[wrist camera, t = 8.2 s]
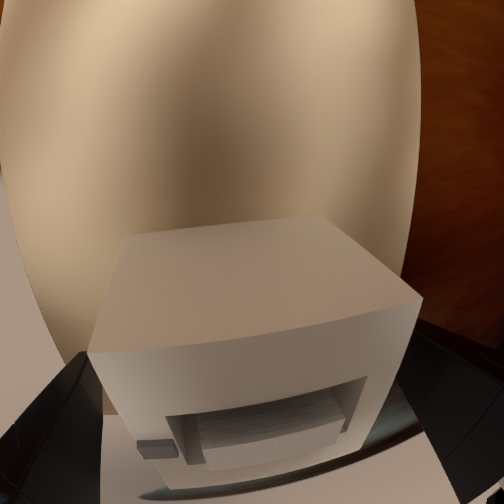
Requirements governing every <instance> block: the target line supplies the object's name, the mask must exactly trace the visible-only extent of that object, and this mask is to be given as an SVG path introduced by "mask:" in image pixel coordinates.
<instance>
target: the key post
mask: <svg viewBox="0 0 504 504" xmlns="http://www.w3.org/2000/svg"><path fill="white" fill-rule="evenodd" d="M345 419H346V418H345V416H344V415H343V413H342V411H341V409H340V407H339V405H338V403H337V402H336V400H335V398H334V396H333V394H332V392H331V391H330V389H329V387H328V388H324V389H321V390H317V391H313V392H309V393H305V394H301V395H297V396H293V397H288V398H284V399H279V400H275V401H270V402H265V403H260V404H254V405H249V406H243V407H237V408H231V409H224V410H218V411H210V412H202V413H197V420H198V427H199V434H200V441H201V448H202V452H203V455H204V457H205V460H206V463H207V466H208V468H209V471H218V470H225V469H232V468H238V467H244V466H250V465H255V464H260V463H265V462H270V461H274V460H279V459H283V458H287V457H291V456H295V455H299V454H303V453H307V452H310V451H314V450H317V449H320V448H324V447H327V446H330V445H333V444H335V443H336V441H337V439H338V436H339V434H340V431H341V429H342V426H343V424H344V421H345Z"/></svg>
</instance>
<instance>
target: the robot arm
mask: <svg viewBox="0 0 504 504" xmlns="http://www.w3.org/2000/svg"><path fill="white" fill-rule="evenodd" d="M395 379H396V381H397V383H398V384H399V386H400V388H401V390H402V391H403V393H404V395H405V397H406V398H407V400H408V402H409V404H410V406H411V407H412V409H413V411H414V413H415V415H416V417H417V418H418V420H419V422H420V424H421V426H422V428H423V430H424V431H425V433H426V435H427V437H428V439H429V441H430V443H431V445H432V447H433V449H434V450H435V452H436V454H437V456H438V458H439V460H440V462H441V465H442V466H443V468H444V471H445V473H446V475H447V477H448V479H449V481H450V482H451V485H452V487H453V489H454V491H455V493H456V496H457V498H458V500H459V502H460V504H468V503H469V502H471V501H472V500H474V499H475V498H477V497H478V496H479V495H481V494H482V493H483V492H485V491H486V490H488V489H489V488H490V487H491V486H493V485H494V484H496V483H497V482H498V483H499V484H500V487H499V488H498V489H497V490H496V491H495V492H494V493H493V494H492V495H491V496H489V497H488V498H487V502H486V504H504V353H503V352H500V351H497V350H494V349H492V348H489V347H487V346H484V345H482V344H479V343H477V342H476V343H475V342H474V341H472V340H470V339H467V338H465V337H462V336H460V335H458V334H455V333H453V332H450V331H448V330H446V329H443V328H441V327H438V326H436V325H434V324H431V323H429V322H426V321H424V320H422V319H419V318H417V320H416V323H415V326H414V329H413V332H412V335H411V338H410V340H409V343H408V346H407V349H406V351H405V354H404V356H403V359H402V362H401V364H400V367H399V369H398V371H397V374H396V376H395ZM102 428H103V385H102V383H101V382H100V380H99V378H98V376H97V374H96V372H95V370H94V368H93V365H92V363H91V361H90V359H89V357H88V355H87V351H80V352H78V353H77V354H76V355H75V356H74V357H73V359H72V360H71V361H70V362H69V363H68V364H67V365H66V366H65V367H64V368H63V369H62V370H61V371H60V372H59V374H57V375H56V377H55V378H54V379H53V380H52V381H51V382H50V383H49V384H48V385H47V386H46V387H45V388H44V390H43V391H42V392H41V393H40V394H39V395H38V396H37V397H36V398H35V400H34V401H33V402H32V403H31V404H30V405H29V406H28V407H27V408H26V410H25V411H24V412H23V413H22V414H21V415H20V416H19V418H18V419H17V420H16V421H15V422H14V424H12V426H11V427H10V428H9V429H8V430H7V431H6V433H5V434H4V435H3V436H2V437H1V438H0V504H100V464H101V443H102Z"/></svg>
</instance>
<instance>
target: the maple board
mask: <svg viewBox="0 0 504 504" xmlns="http://www.w3.org/2000/svg"><path fill="white" fill-rule="evenodd" d="M420 121H421V73H420V52H419V39H418V28H417V19H416V11H415V4H414V0H5V3H4V8H3V14H2V20H1V26H0V162H1V170H2V176H3V182H4V188H5V194H6V198H7V204H8V208H9V213H10V217H11V222H12V225H13V230H14V233H15V237H16V241H17V244H18V248H19V251H20V255H21V258H22V261H23V264H24V267H25V270H26V273H27V276H28V279H29V282H30V285H31V288H32V290H33V293H34V295H35V298H36V301H37V304H38V306H39V308H40V311H41V313H42V316H43V318H44V320H45V323H46V325H47V327H48V330H49V332H50V334H51V336H52V338H53V340H54V343H55V345H56V347H57V349H58V351H59V352H60V355H61V357H62V359H63V361H64V363H65V364H66V365H67V364H68V363H69V362H70V361H71V360H72V359H73V357H74V356H75V355H76V354H77V353H78V352H80V351H87V350H88V347H89V343H90V340H91V337H92V333H93V330H94V327H95V324H96V320H97V317H98V314H99V311H100V308H101V305H102V302H103V299H104V296H105V293H106V291H107V288H108V285H109V282H110V279H111V277H112V274H113V271H114V269H115V266H116V263H117V261H118V258H119V256H120V253H121V251H122V248H123V246H124V243H125V241H126V238H127V236H128V235H133V234H141V233H149V232H157V231H165V230H174V229H183V228H192V227H201V226H210V225H219V224H229V223H239V222H249V221H259V220H270V219H281V218H292V217H304V216H316V215H322V216H323V217H324V218H326V219H327V220H328V221H330V222H331V223H332V224H334V225H335V226H336V227H338V228H339V229H340V230H341V231H343V232H344V233H345V234H347V235H348V236H349V237H350V238H352V239H353V240H354V241H355V242H357V243H358V244H359V245H361V246H362V247H363V248H364V249H366V250H367V251H368V252H369V253H371V254H372V255H373V256H374V257H375V258H377V259H378V260H379V261H380V262H382V263H383V264H384V265H385V266H386V267H388V268H389V269H390V270H391V271H392V272H394V273H395V274H396V275H397V276H398V277H400V275H401V270H402V266H403V261H404V256H405V251H406V246H407V240H408V235H409V229H410V223H411V217H412V210H413V203H414V195H415V187H416V178H417V168H418V156H419V142H420ZM106 414H107V415H110V414H111V415H113V414H114V415H117V414H118V413H117V411H116V409H115V407H114V406H113V404H112V402H111V400H110V398H109V397H108V395H107V393H106V391H105V389H104V387H103V415H106Z"/></svg>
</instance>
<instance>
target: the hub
mask: <svg viewBox="0 0 504 504" xmlns="http://www.w3.org/2000/svg"><path fill="white" fill-rule="evenodd" d="M422 301H423V297H422V296H420V295H419V294H418V293H417V292H416V291H415V290H414V289H412V288H411V287H410V286H409V285H408V284H407V283H405V282H404V281H403V280H402V279H401V278H400V277H398V276H397V275H396V274H395V273H394V272H392V271H391V270H390V269H389V268H388V267H386V266H385V265H384V264H383V263H382V262H380V261H379V260H378V259H377V258H375V257H374V256H373V255H372V254H371V253H369V252H368V251H367V250H366V249H364V248H363V247H362V246H361V245H359V244H358V243H357V242H355V241H354V240H353V239H352V238H350V237H349V236H348V235H347V234H345V233H344V232H343V231H341V230H340V229H339V228H338V227H336V226H335V225H334V224H332V223H331V222H330V221H328V220H327V219H326V218H324V217H323V216H322V215H316V216H304V217H292V218H281V219H270V220H259V221H249V222H239V223H229V224H219V225H210V226H201V227H192V228H183V229H174V230H165V231H157V232H149V233H141V234H133V235H128V236H127V238H126V241H125V243H124V246H123V248H122V251H121V253H120V256H119V258H118V261H117V263H116V266H115V269H114V271H113V274H112V277H111V279H110V282H109V285H108V288H107V291H106V293H105V296H104V299H103V302H102V305H101V308H100V311H99V314H98V317H97V320H96V324H95V327H94V330H93V333H92V337H91V340H90V343H89V347H88V350H87V355H88V357H89V359H90V361H91V363H92V365H93V368H94V370H95V372H96V374H97V376H98V378H99V380H100V382H101V383H102V385H103V387H104V389H105V391H106V393H107V395H108V397H109V398H110V400H111V402H112V404H113V406H114V407H115V409H116V411H117V413H118V414H119V416H120V418H121V419H122V421H123V423H124V424H125V426H126V427H127V429H128V431H129V432H130V434H131V436H132V437H133V438H134V440H135V441H136V443H137V449H138V450H139V452H140V453H141V455H142V456H143V458H144V459H148V461H149V462H150V464H151V465H152V466H153V468H154V469H155V470H156V472H157V473H158V475H159V476H160V477H161V479H162V480H163V481H164V482H165V484H166V485H167V486H168V488H169V489H185V488H197V487H207V486H216V485H223V484H230V483H237V482H243V481H248V480H254V479H259V478H264V477H269V476H273V475H278V474H282V473H286V472H290V471H294V470H298V469H301V468H305V467H309V466H312V465H315V464H319V463H322V462H325V461H328V460H331V459H334V458H337V457H340V456H343V455H346V454H349V453H352V452H354V451H357V450H360V448H361V446H362V444H363V442H364V441H365V439H366V437H367V435H368V433H369V431H370V429H371V428H372V426H373V424H374V422H375V420H376V418H377V416H378V414H379V412H380V409H381V407H382V405H383V403H384V401H385V399H386V397H387V395H388V392H389V390H390V388H391V386H392V383H393V381H394V379H395V376H396V374H397V371H398V369H399V367H400V364H401V362H402V359H403V356H404V354H405V351H406V349H407V346H408V343H409V340H410V338H411V335H412V332H413V329H414V326H415V323H416V320H417V317H418V314H419V311H420V307H421V304H422ZM328 387H329V389H330V391H331V392H332V394H333V396H334V398H335V400H336V402H337V403H338V405H339V407H340V409H341V411H342V413H343V415H344V416H345V418H346V419H345V421H344V424H343V426H342V429H341V431H340V434H339V436H338V439H337V441H336V443H335V444H333V445H330V446H327V447H324V448H320V449H317V450H314V451H310V452H307V453H303V454H299V455H295V456H291V457H287V458H283V459H279V460H274V461H270V462H265V463H260V464H255V465H250V466H244V467H238V468H232V469H225V470H218V471H209V468H208V466H207V463H206V460H205V457H204V455H203V452H202V448H201V441H200V434H199V427H198V420H197V413H202V412H210V411H218V410H224V409H231V408H237V407H243V406H249V405H254V404H260V403H265V402H270V401H275V400H279V399H284V398H288V397H293V396H297V395H301V394H305V393H309V392H313V391H317V390H321V389H324V388H328Z"/></svg>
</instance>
